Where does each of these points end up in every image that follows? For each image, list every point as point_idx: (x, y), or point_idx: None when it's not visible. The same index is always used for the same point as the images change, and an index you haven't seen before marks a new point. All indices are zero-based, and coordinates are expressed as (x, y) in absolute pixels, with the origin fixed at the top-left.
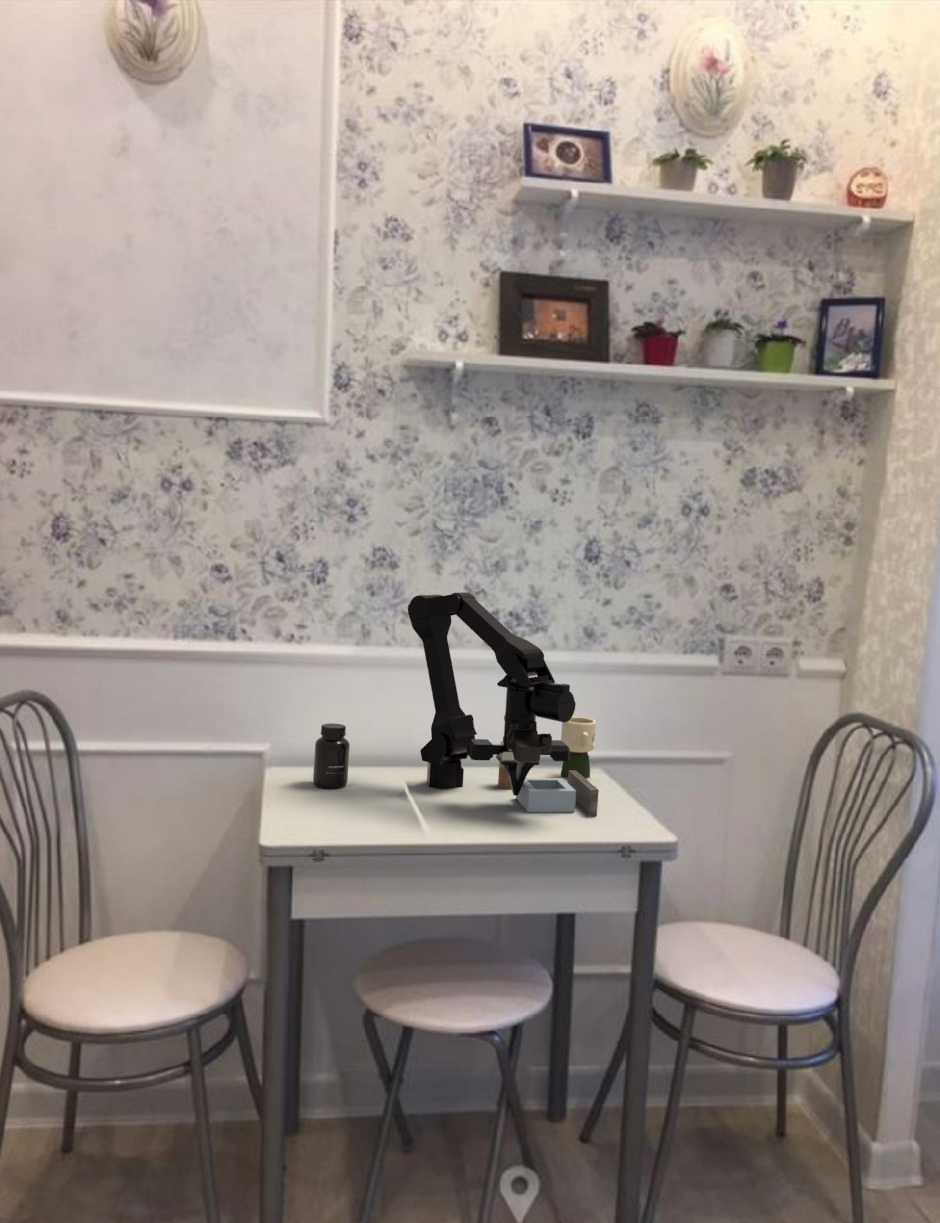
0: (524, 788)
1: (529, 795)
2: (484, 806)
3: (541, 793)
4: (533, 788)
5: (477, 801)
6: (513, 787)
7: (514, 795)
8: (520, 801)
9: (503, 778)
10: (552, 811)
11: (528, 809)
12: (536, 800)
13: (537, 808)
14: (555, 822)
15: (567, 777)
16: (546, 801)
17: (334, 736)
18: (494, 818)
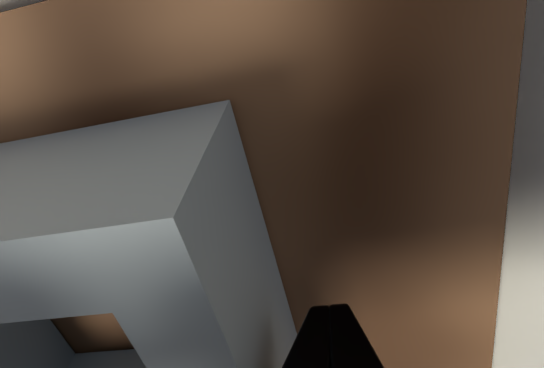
0: (247, 356)
1: (184, 183)
2: (516, 287)
3: (27, 219)
4: (131, 318)
5: (528, 356)
6: (372, 364)
7: (344, 303)
8: (284, 301)
9: None
10: (27, 140)
11: (221, 109)
12: (119, 162)
13: (137, 127)
14: (2, 4)
15: None
16: (25, 173)
17: None
18: (538, 21)
